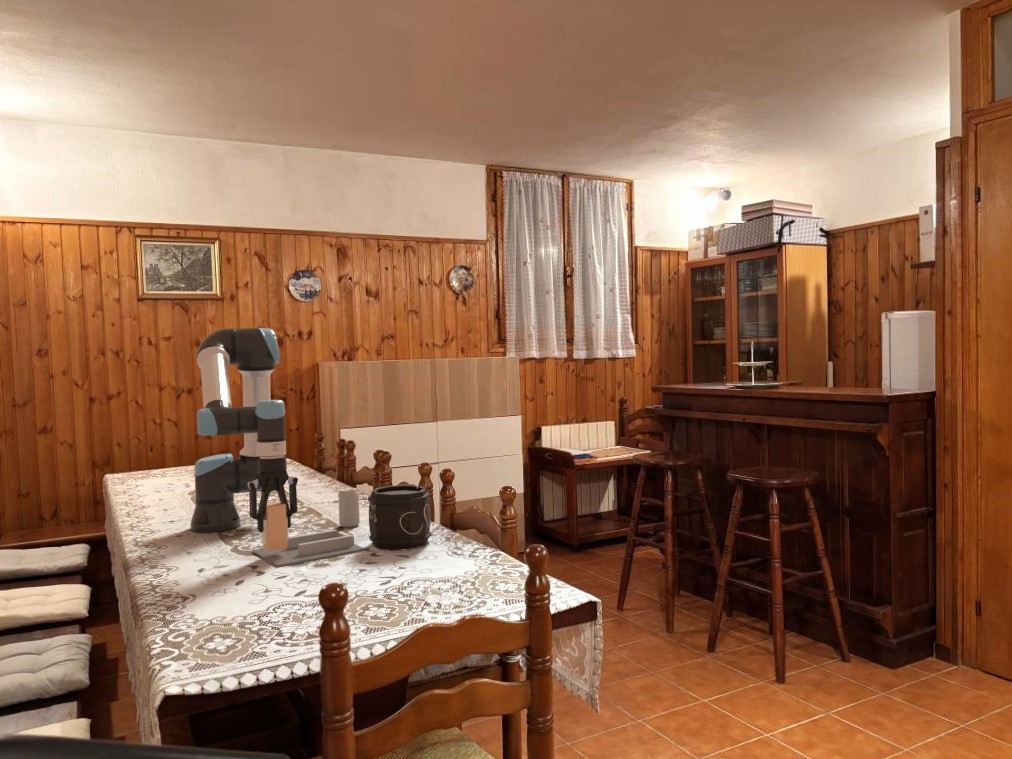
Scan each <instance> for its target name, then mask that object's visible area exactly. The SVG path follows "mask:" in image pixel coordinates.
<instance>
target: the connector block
mask: <svg viewBox="0 0 1012 759" xmlns="http://www.w3.org/2000/svg"><path fill="white" fill-rule="evenodd" d="M264 519H265V520H267V544H266V545H265V544H263V543H262V548H264V549H266V550H268V551H275V550H280V549H286V548H287V521H286V504H283V503H280V501H277V502H269V503H268V502H267V506H266V511H265V515H264Z"/></svg>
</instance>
